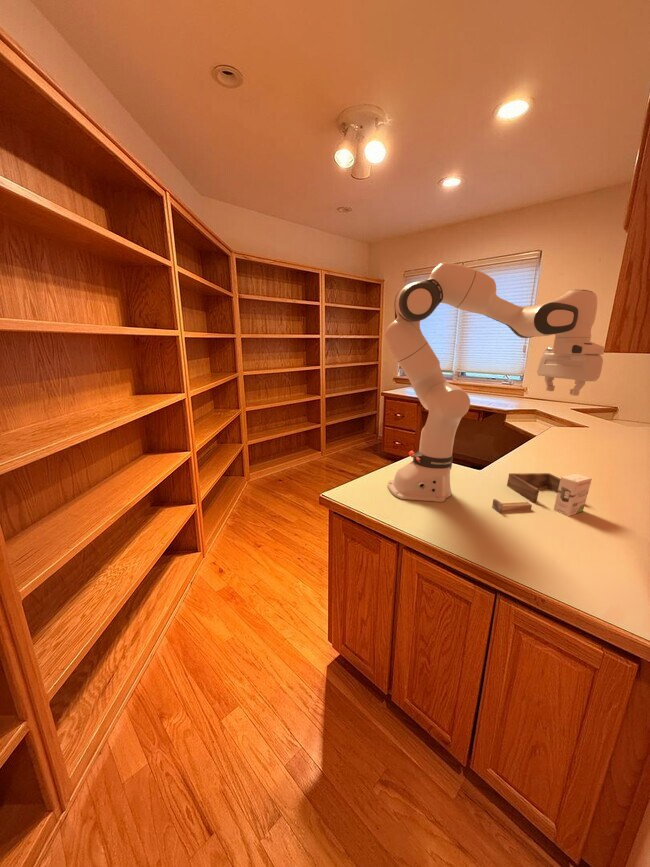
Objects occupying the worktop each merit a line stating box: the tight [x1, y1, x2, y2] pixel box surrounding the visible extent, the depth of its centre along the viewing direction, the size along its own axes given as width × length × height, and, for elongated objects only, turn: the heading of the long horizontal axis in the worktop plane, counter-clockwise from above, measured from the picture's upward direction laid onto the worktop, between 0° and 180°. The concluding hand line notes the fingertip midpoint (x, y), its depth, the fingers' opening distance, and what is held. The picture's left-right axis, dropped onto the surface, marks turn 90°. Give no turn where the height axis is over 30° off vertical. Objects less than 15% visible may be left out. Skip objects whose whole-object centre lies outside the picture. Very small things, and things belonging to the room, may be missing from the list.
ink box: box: [553, 473, 593, 517], centre depth 105 cm, size 9×5×12 cm, turn 116°
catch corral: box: [506, 472, 561, 504], centre depth 118 cm, size 16×14×5 cm
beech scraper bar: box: [491, 498, 533, 514], centre depth 105 cm, size 4×12×3 cm, turn 98°
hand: (561, 393), depth 103 cm, fingers open, 8 cm apart
